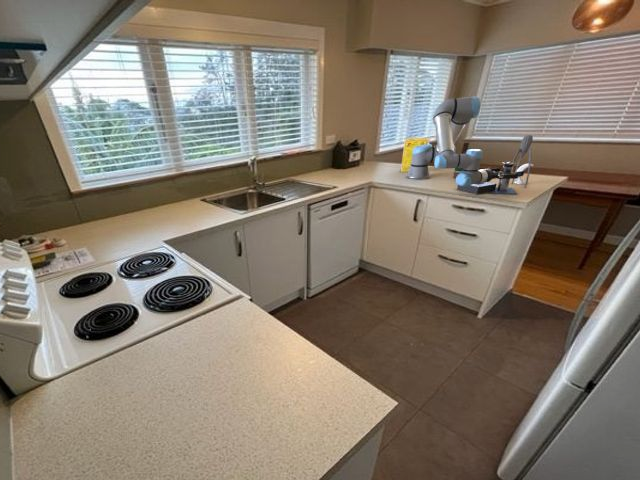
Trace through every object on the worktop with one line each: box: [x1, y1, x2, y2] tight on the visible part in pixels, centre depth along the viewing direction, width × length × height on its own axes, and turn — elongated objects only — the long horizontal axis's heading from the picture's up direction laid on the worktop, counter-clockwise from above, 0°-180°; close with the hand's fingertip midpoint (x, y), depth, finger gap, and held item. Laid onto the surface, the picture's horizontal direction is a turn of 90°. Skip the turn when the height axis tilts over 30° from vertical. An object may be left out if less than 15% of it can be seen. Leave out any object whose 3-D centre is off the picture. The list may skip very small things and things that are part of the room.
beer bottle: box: [452, 142, 470, 179], centre depth 211 cm, size 8×8×24 cm
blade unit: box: [496, 161, 518, 191], centre depth 175 cm, size 6×6×17 cm
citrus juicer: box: [511, 134, 534, 189], centre depth 180 cm, size 11×10×30 cm
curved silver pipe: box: [513, 162, 534, 185], centre depth 188 cm, size 5×6×12 cm
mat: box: [489, 186, 518, 196], centre depth 179 cm, size 14×12×1 cm
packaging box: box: [400, 136, 431, 173], centre depth 246 cm, size 16×16×25 cm
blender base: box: [456, 181, 498, 195], centre depth 184 cm, size 14×14×4 cm
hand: (511, 171), depth 175 cm, fingers open, 13 cm apart
